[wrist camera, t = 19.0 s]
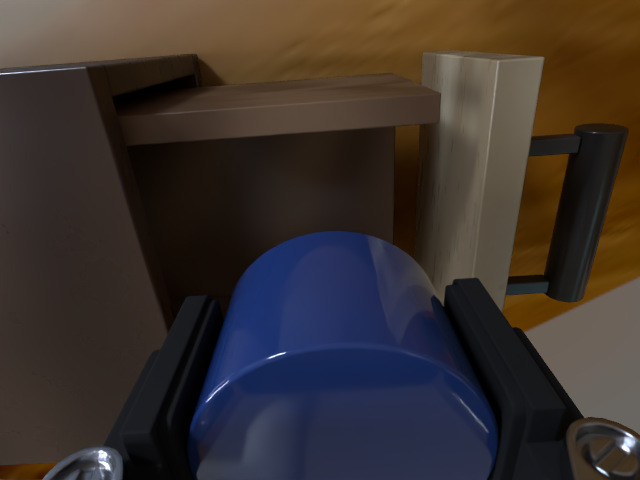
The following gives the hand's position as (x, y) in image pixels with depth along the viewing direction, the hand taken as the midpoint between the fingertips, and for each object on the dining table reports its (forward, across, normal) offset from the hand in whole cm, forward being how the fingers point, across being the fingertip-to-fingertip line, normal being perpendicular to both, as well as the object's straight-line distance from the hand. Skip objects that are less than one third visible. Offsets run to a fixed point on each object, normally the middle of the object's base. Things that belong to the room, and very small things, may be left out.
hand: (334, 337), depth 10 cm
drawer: (+11, -1, 0) cm, 11 cm away
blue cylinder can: (+1, 0, 0) cm, 1 cm away
